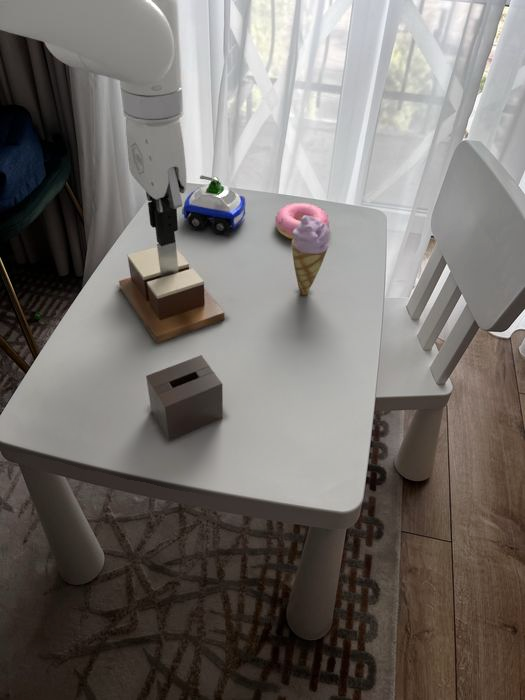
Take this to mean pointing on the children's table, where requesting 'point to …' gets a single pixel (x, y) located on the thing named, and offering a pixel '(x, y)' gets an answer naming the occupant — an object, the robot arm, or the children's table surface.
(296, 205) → the doughnut
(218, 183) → the toy car
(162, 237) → the knife
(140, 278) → the cake
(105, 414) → the children's table surface
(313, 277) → the ice cream cone
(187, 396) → the knife block
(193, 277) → the cake slice
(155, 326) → the cutting board
